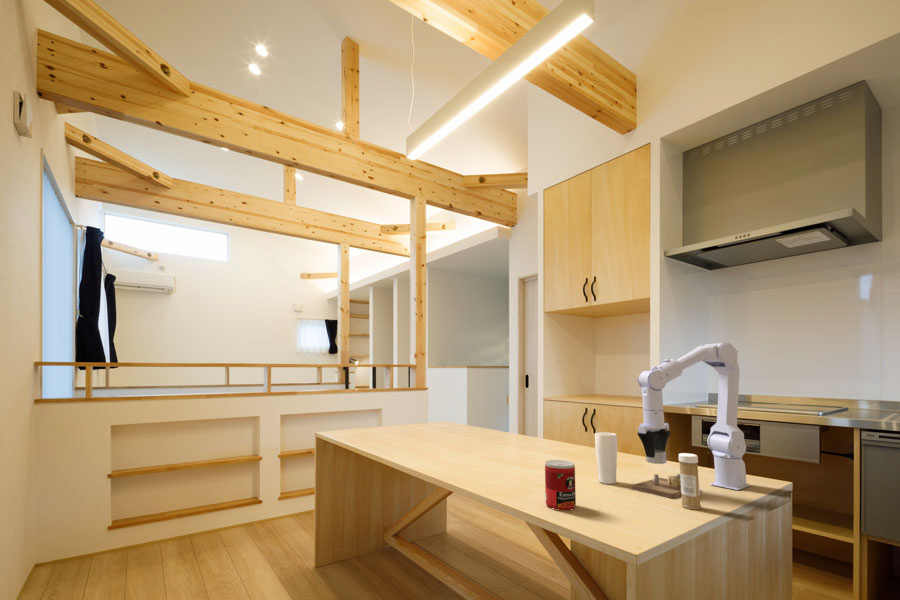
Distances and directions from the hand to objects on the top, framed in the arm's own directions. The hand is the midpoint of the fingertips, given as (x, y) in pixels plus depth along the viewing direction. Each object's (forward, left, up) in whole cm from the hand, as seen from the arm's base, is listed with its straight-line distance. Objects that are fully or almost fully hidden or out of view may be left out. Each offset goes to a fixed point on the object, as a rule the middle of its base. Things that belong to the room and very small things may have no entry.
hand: (655, 456), depth 139 cm
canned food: (+37, -6, -10) cm, 39 cm away
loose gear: (0, 0, -2) cm, 2 cm away
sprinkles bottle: (+10, +15, -10) cm, 20 cm away
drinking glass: (+5, -13, -10) cm, 17 cm away
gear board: (-2, +2, -10) cm, 10 cm away
